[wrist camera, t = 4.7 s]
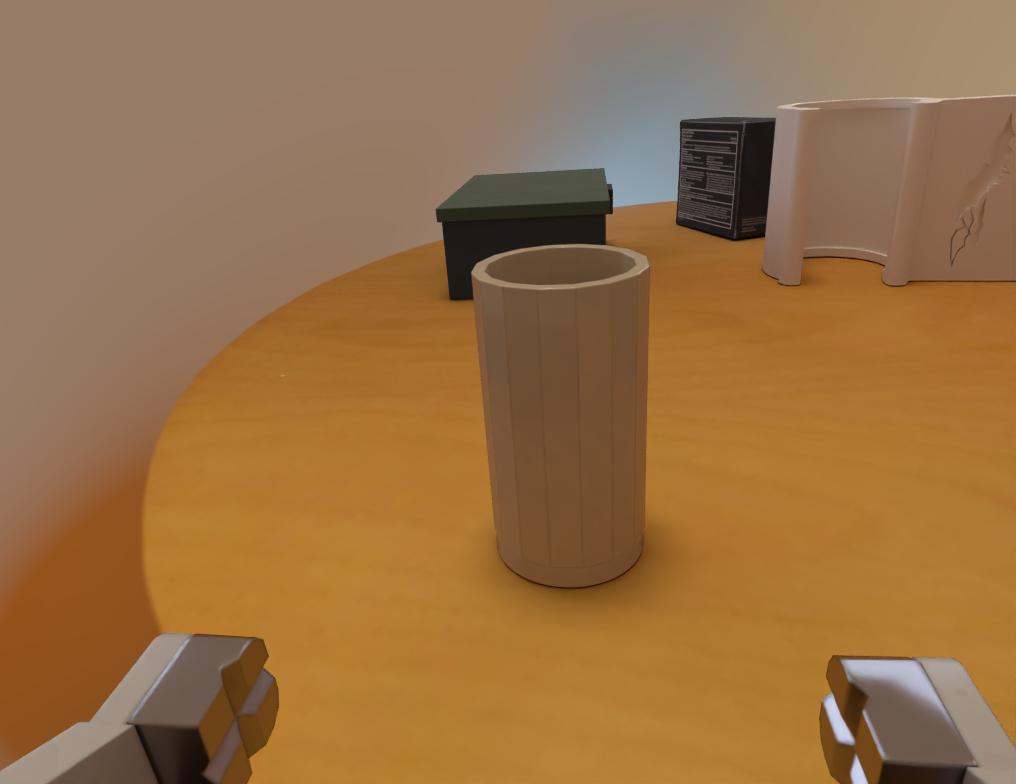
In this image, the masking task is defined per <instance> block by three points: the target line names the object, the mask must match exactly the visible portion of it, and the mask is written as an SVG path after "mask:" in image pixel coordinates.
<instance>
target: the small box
mask: <svg viewBox="0 0 1016 784" xmlns="http://www.w3.org/2000/svg"><path fill="white" fill-rule="evenodd" d="M775 125H776V118H745V117H742V118H741V117H740V118H739V117H723V118H722V117H721V118H703V119H689V120H681V122H680V161H679V182H678V202H677V217H676V223H677V224H679V225H683V226H687V227H691V228H694V229H698V230H702V231H705V232H709V233H713V234H717V235H720V236H724V237H727V238H731V239H737V238H744V237H751V236H757V235H765V234H766V223H767V212H768V201H769V190H770V179H771V168H772V157H773V146H774V135H775Z"/></svg>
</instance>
